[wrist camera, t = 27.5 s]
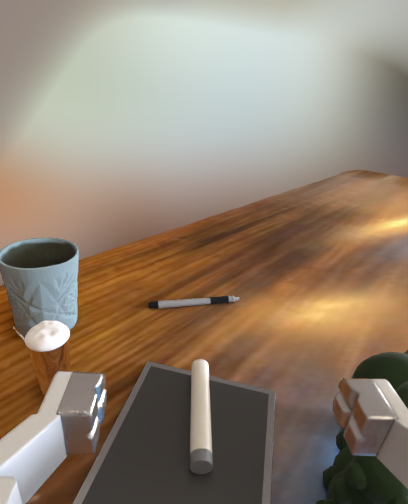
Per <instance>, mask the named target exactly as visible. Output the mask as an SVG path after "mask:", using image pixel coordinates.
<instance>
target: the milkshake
mask: <svg viewBox="0 0 408 504" xmlns="http://www.w3.org/2000/svg"><path fill="white" fill-rule="evenodd" d="M13 329H14V330H15V331H16V332H17V333H18V334H19V335H20V337H21V338H22V339H23V340H24V341H25V344H26V347H27V350H28V353H29V356H30V359H31V361H32V364H33V367H34V371H35V374H36V377H37V381H38V384H39V387H40V391H41V393H42V394H43V396H44V397H45V395H46V393H47V391H48V388H49V386H50V384H51V382H52V380H53V377H54V375H55V374H56V373H57V372H58V371H63V372H70V354H69V348H70V331H69V329H68V327H67V326H66V325H64V324H63V323H61V322H59V321H47V320H45V321H42V322H40V323H39V324H37V325H36V326H34V327H32V328H31V329H30V330H29V331H28V332H27V334H26V336H25V338H24V336H23V335H22V334H21V333H20V332H19V331H18V330H17V329H16V328H15V327H14V326H13Z"/></svg>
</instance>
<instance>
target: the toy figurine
mask: <svg viewBox="0 0 408 504" xmlns="http://www.w3.org/2000/svg"><path fill="white" fill-rule="evenodd" d="M352 379H386V380H387V381H388V382H389V383H390V384H391V386H392V387H393V389H394V390H395V391H396V393H397V394H398V396H399V397H400V399H401V400H402V402H403V403H404V405H405V406H406V407H407V409H408V350H407V351H406V352H405V353H396V352H387V353H381V354H377V355H374V356H372V357H370V358H368V359H366V360H364V361H363V362H362V363H361V364H360V365H359V366H358V367H357V369H356V371H355V372H354V375H353V377H352ZM344 431H345V430H344V429H343V430H342V431H341V432H340V433H339V434H338V435H337V436H336V444H337V447H338V448H339V450H340V452H339V454H338V455H337V456H336V458H335V461H334V464H333V466H331V467H329V468H328V469H326V470H325V471H324V472H323V480H324V485H325V486H326V487H327V489H328V491H327V499H326V500H320V501H317V503H316V504H408V489H407V488H406V487H405V486H404V485H403V484H402V483H401V482H400V481H399V480H398V479H397V478H396V477H395V476H394V475H393V474H392V473H391V472H390V471H389V470H388V469H387V468H386V467H385V466H384V465H383V464H382V463H381V462H380V461H379V460H378V459H377V458H376V457H377V456H359V455H351V452H350V450H349V448H348V446H347V444H346V441H345V439H344V437H343V435H344Z"/></svg>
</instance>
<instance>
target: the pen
mask: <svg viewBox="0 0 408 504" xmlns="http://www.w3.org/2000/svg"><path fill="white" fill-rule="evenodd" d="M239 299H241V298H238V297H234V296H233V295H232V296H223V297H210V298H197V299H182V300H167V301H155V302H150V303H148V306H149V308H158V309H159V308H168V307H180V306H192V305H203V304H217V303H229V302H232V303H233V302H234V301H236V300H239Z"/></svg>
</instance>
